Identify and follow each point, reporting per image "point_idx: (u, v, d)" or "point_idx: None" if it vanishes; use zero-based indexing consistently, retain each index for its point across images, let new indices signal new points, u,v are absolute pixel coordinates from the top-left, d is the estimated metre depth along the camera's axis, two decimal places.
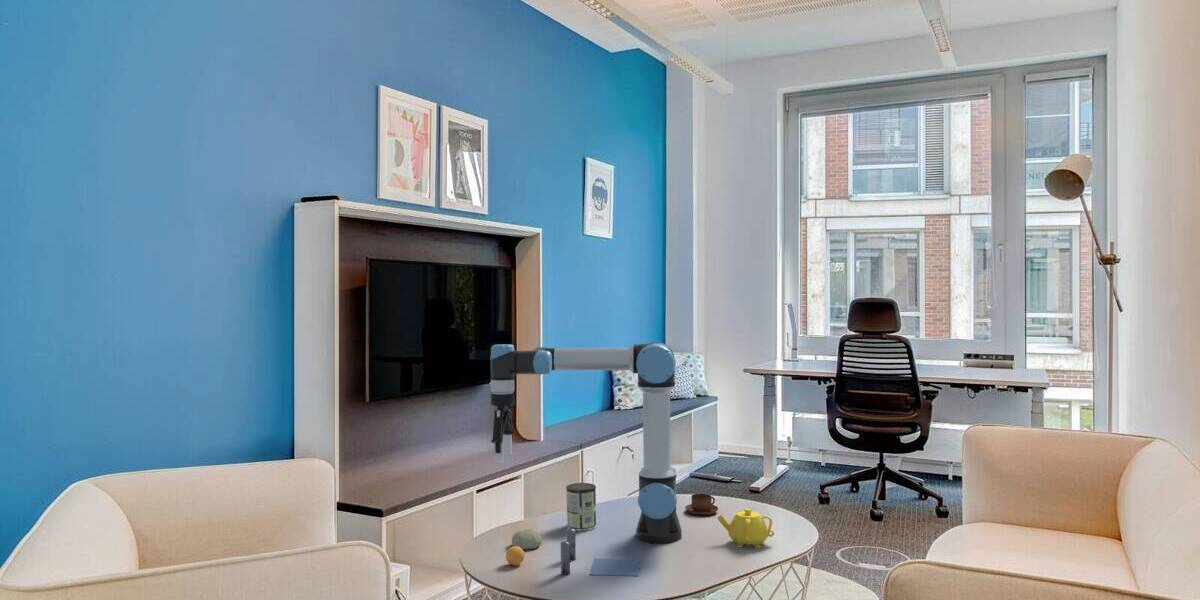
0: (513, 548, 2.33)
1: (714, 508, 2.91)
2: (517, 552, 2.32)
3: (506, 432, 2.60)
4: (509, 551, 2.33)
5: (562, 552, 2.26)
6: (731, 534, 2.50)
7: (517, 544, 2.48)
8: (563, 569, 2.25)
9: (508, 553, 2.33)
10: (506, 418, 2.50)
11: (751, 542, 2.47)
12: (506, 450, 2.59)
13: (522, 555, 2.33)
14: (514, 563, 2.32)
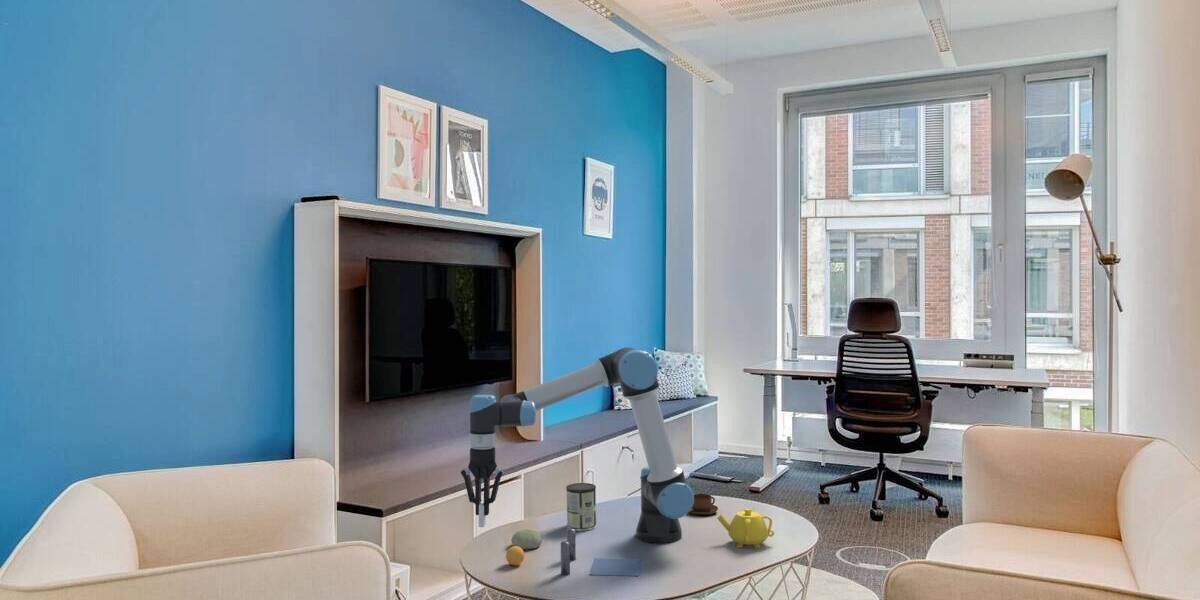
0: (513, 548, 2.33)
1: (714, 508, 2.91)
2: (517, 552, 2.32)
3: None
4: (509, 551, 2.33)
5: (562, 552, 2.26)
6: (731, 534, 2.50)
7: (517, 544, 2.48)
8: (563, 569, 2.25)
9: (508, 553, 2.33)
10: None
11: (751, 542, 2.47)
12: None
13: (522, 555, 2.33)
14: (514, 563, 2.32)
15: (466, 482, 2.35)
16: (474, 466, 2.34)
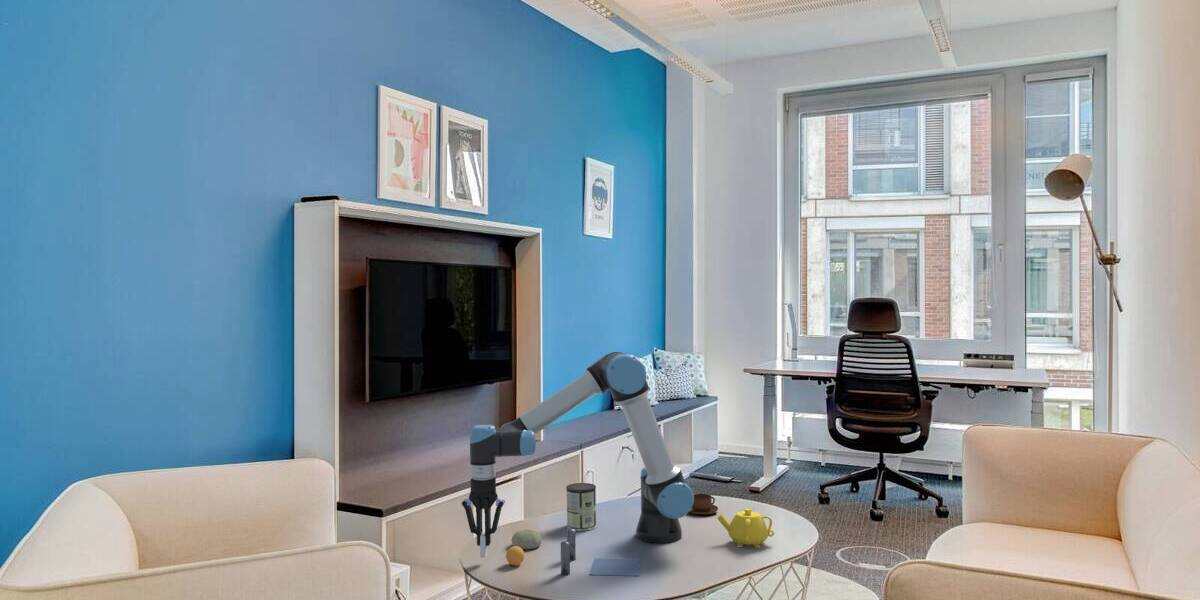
0: (513, 548, 2.33)
1: (714, 508, 2.91)
2: (517, 552, 2.32)
3: None
4: (509, 551, 2.33)
5: (562, 552, 2.26)
6: (731, 534, 2.50)
7: (517, 544, 2.48)
8: (563, 569, 2.25)
9: (508, 553, 2.33)
10: None
11: (751, 542, 2.47)
12: None
13: (522, 555, 2.33)
14: (514, 563, 2.32)
15: (467, 513, 2.35)
16: (475, 497, 2.34)
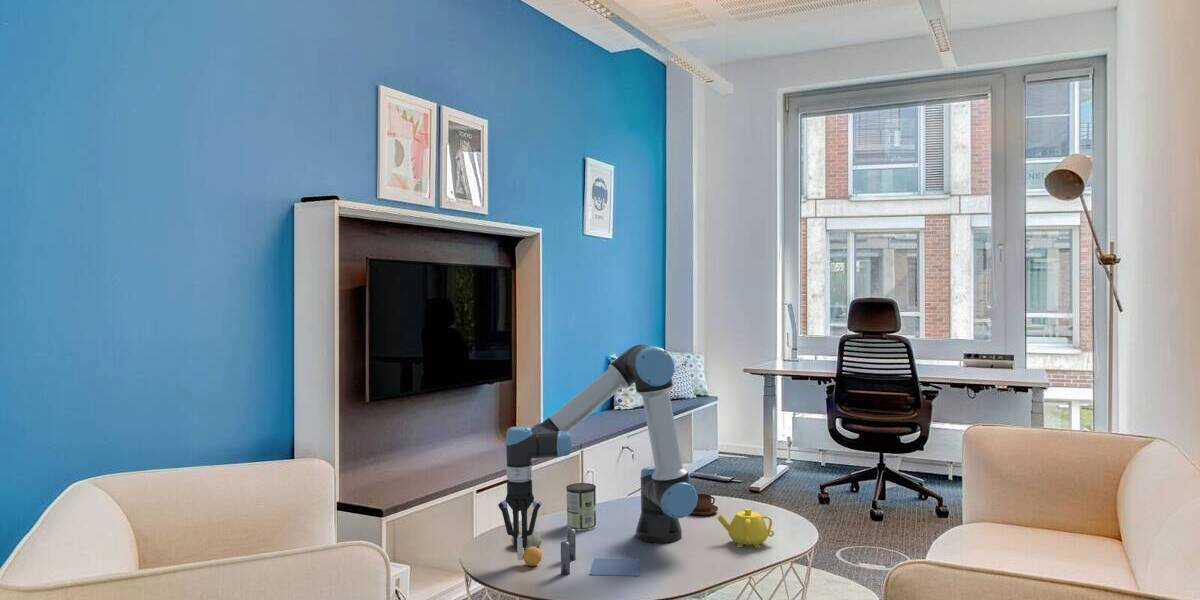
0: (540, 557, 2.33)
1: (714, 508, 2.91)
2: (535, 563, 2.32)
3: None
4: (537, 554, 2.32)
5: (562, 552, 2.26)
6: (731, 534, 2.50)
7: None
8: (563, 569, 2.25)
9: (535, 553, 2.32)
10: None
11: (751, 542, 2.47)
12: None
13: (532, 565, 2.33)
14: (525, 558, 2.32)
15: (504, 515, 2.34)
16: (511, 499, 2.34)
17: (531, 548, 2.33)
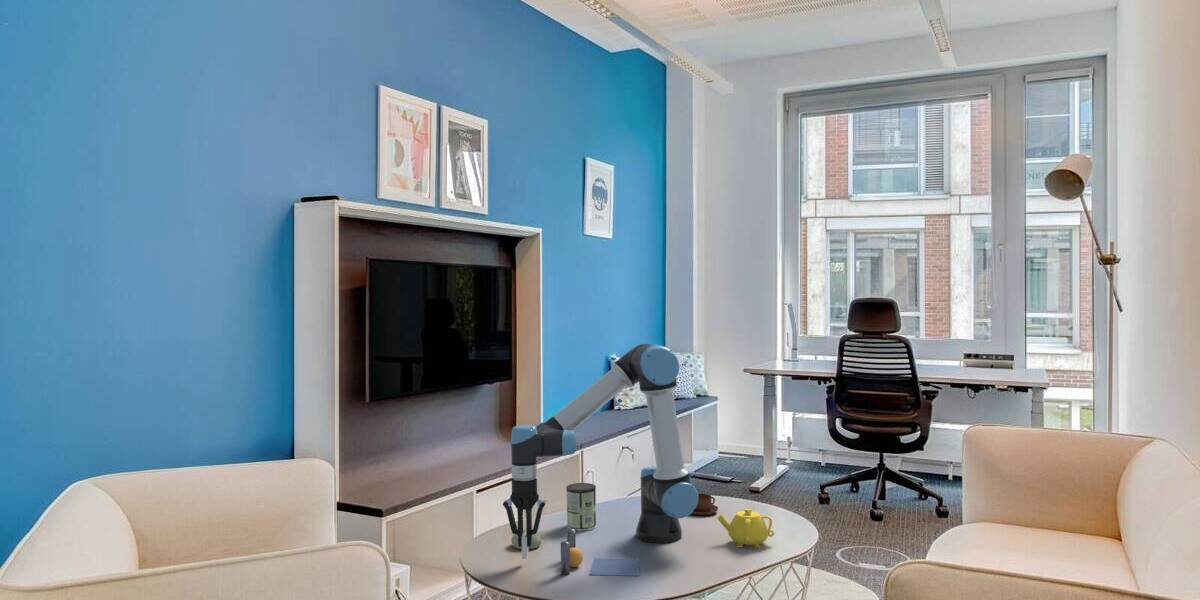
0: (571, 550, 2.32)
1: (714, 508, 2.91)
2: (576, 553, 2.31)
3: (521, 532, 2.34)
4: None
5: (562, 552, 2.26)
6: (731, 534, 2.50)
7: (517, 544, 2.48)
8: (563, 569, 2.25)
9: None
10: None
11: (751, 542, 2.47)
12: None
13: (581, 556, 2.31)
14: (574, 564, 2.30)
15: (508, 513, 2.33)
16: (516, 497, 2.33)
17: None
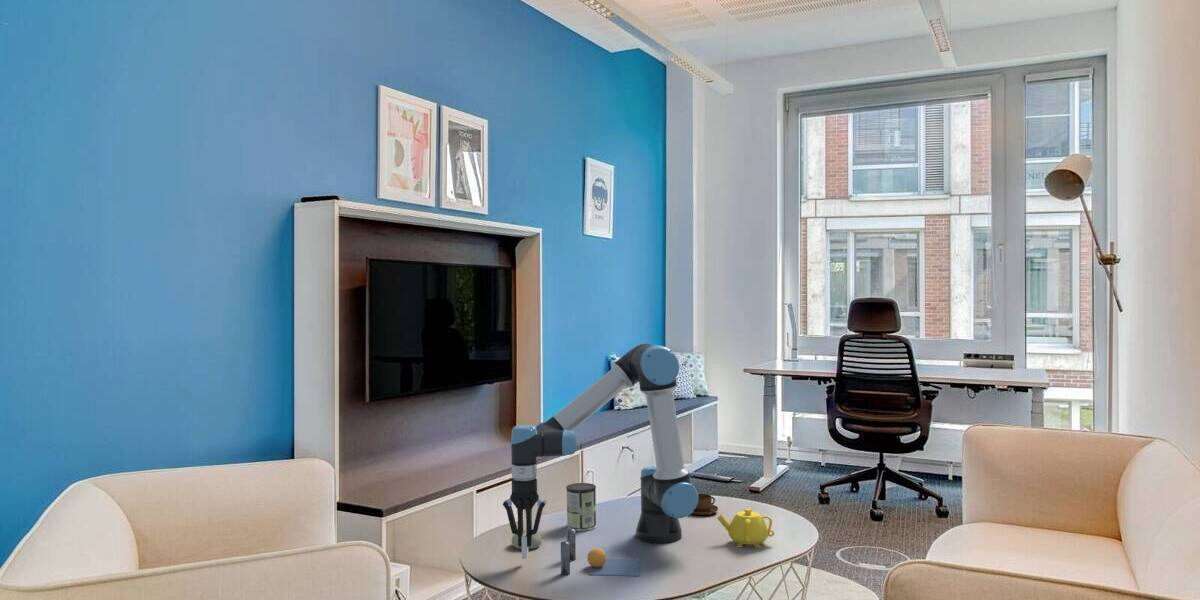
0: (602, 564, 2.31)
1: (714, 508, 2.91)
2: (596, 566, 2.30)
3: (521, 532, 2.34)
4: (603, 561, 2.30)
5: (562, 552, 2.26)
6: (731, 534, 2.50)
7: (517, 544, 2.48)
8: (563, 569, 2.25)
9: (602, 559, 2.30)
10: None
11: (751, 542, 2.47)
12: None
13: (591, 565, 2.31)
14: (591, 556, 2.30)
15: (508, 513, 2.33)
16: (516, 497, 2.33)
17: (601, 552, 2.31)
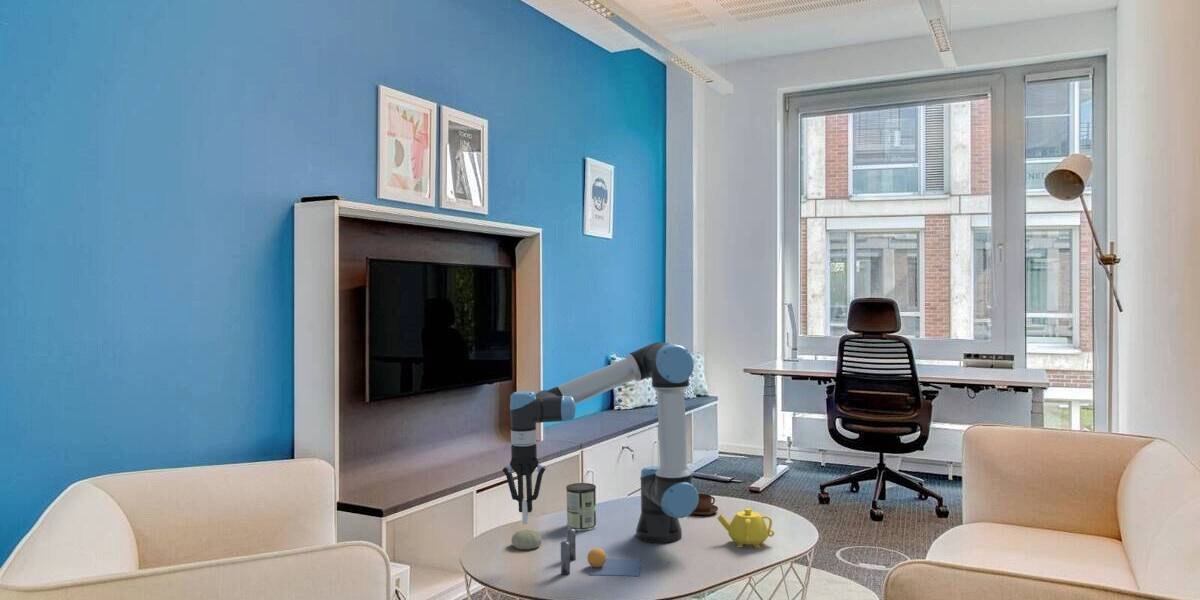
0: (602, 564, 2.31)
1: (714, 508, 2.91)
2: (596, 566, 2.30)
3: (522, 498, 2.34)
4: (603, 561, 2.30)
5: (562, 552, 2.26)
6: (731, 534, 2.50)
7: (517, 544, 2.48)
8: (563, 569, 2.25)
9: (602, 559, 2.30)
10: None
11: (751, 542, 2.47)
12: None
13: (591, 565, 2.31)
14: (591, 556, 2.30)
15: (508, 479, 2.33)
16: (516, 463, 2.33)
17: (601, 552, 2.31)
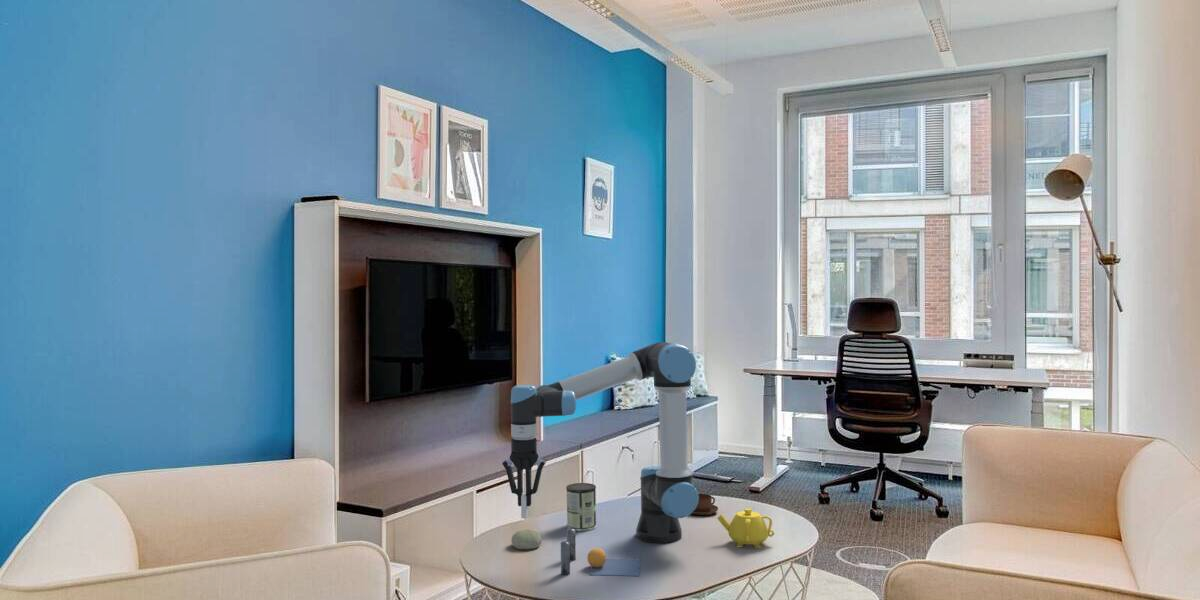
0: (602, 564, 2.31)
1: (714, 508, 2.91)
2: (596, 566, 2.30)
3: None
4: (603, 561, 2.30)
5: (562, 552, 2.26)
6: (731, 534, 2.50)
7: (517, 544, 2.48)
8: (563, 569, 2.25)
9: (602, 559, 2.30)
10: None
11: (751, 542, 2.47)
12: None
13: (591, 565, 2.31)
14: (591, 556, 2.30)
15: (508, 473, 2.33)
16: (516, 457, 2.33)
17: (601, 552, 2.31)
